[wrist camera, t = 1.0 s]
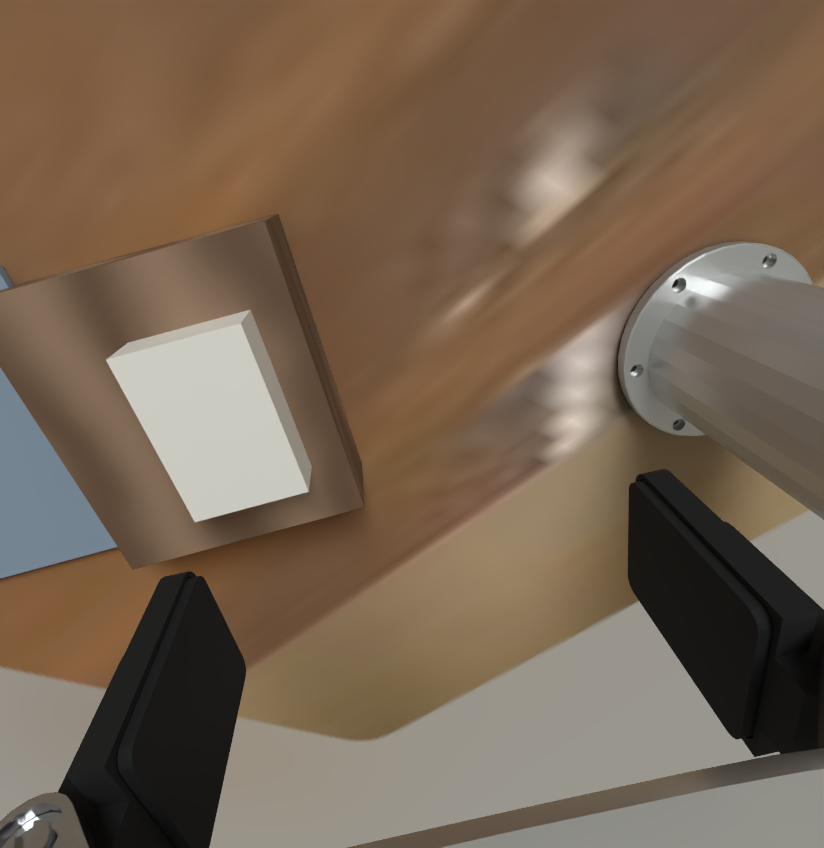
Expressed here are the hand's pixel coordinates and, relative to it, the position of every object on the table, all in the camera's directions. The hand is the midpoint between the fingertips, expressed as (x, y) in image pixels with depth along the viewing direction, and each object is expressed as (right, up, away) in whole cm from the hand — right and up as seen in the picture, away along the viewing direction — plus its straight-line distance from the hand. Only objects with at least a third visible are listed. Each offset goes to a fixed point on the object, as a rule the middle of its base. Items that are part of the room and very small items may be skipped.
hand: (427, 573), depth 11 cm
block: (-10, +4, +15) cm, 18 cm away
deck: (-12, +6, +19) cm, 24 cm away
